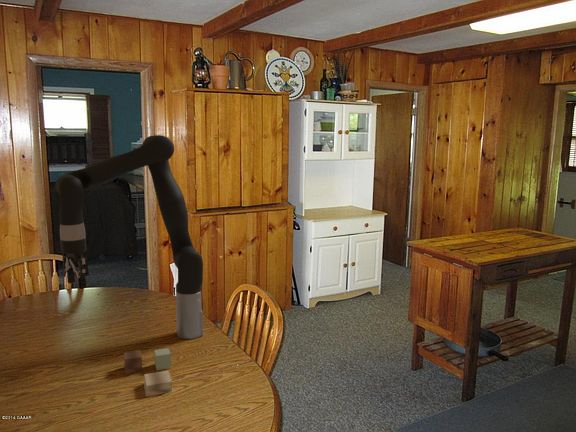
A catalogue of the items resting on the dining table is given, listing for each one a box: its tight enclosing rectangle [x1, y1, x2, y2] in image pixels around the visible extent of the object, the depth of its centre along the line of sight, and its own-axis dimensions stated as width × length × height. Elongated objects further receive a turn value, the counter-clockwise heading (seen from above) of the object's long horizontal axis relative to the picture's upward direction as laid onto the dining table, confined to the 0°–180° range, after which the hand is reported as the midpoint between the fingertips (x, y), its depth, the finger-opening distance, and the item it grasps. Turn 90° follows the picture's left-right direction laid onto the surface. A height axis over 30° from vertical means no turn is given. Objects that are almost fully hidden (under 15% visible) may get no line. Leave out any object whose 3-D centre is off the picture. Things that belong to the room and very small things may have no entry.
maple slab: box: [143, 370, 173, 396], centre depth 142 cm, size 7×7×3 cm
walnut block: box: [123, 350, 143, 375], centre depth 153 cm, size 5×5×6 cm
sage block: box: [154, 347, 172, 371], centre depth 155 cm, size 4×4×6 cm
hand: (76, 285), depth 159 cm, fingers open, 8 cm apart
